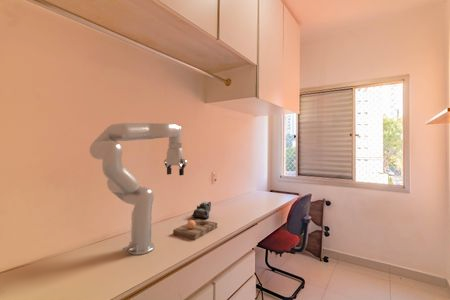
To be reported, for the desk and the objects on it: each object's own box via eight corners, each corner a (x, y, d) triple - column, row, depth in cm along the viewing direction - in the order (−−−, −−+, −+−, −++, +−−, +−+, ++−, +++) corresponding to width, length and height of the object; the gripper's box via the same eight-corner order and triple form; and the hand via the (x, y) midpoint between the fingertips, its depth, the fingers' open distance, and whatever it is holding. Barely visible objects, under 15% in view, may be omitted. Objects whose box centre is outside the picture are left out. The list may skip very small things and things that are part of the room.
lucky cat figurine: (189, 216, 171) (196, 198, 177) (204, 221, 174) (209, 203, 180) (195, 215, 158) (201, 196, 163) (210, 220, 161) (216, 202, 166)
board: (194, 240, 125) (194, 234, 125) (173, 234, 133) (173, 229, 133) (217, 227, 146) (217, 222, 146) (197, 223, 154) (197, 219, 154)
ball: (192, 230, 132) (192, 222, 132) (185, 229, 134) (185, 220, 134) (197, 228, 136) (197, 219, 136) (190, 226, 139) (190, 218, 139)
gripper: (160, 146, 135) (160, 174, 135) (182, 146, 126) (182, 176, 126) (168, 146, 141) (168, 173, 141) (190, 146, 133) (190, 174, 133)
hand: (175, 174), depth 134 cm, fingers open, 9 cm apart
